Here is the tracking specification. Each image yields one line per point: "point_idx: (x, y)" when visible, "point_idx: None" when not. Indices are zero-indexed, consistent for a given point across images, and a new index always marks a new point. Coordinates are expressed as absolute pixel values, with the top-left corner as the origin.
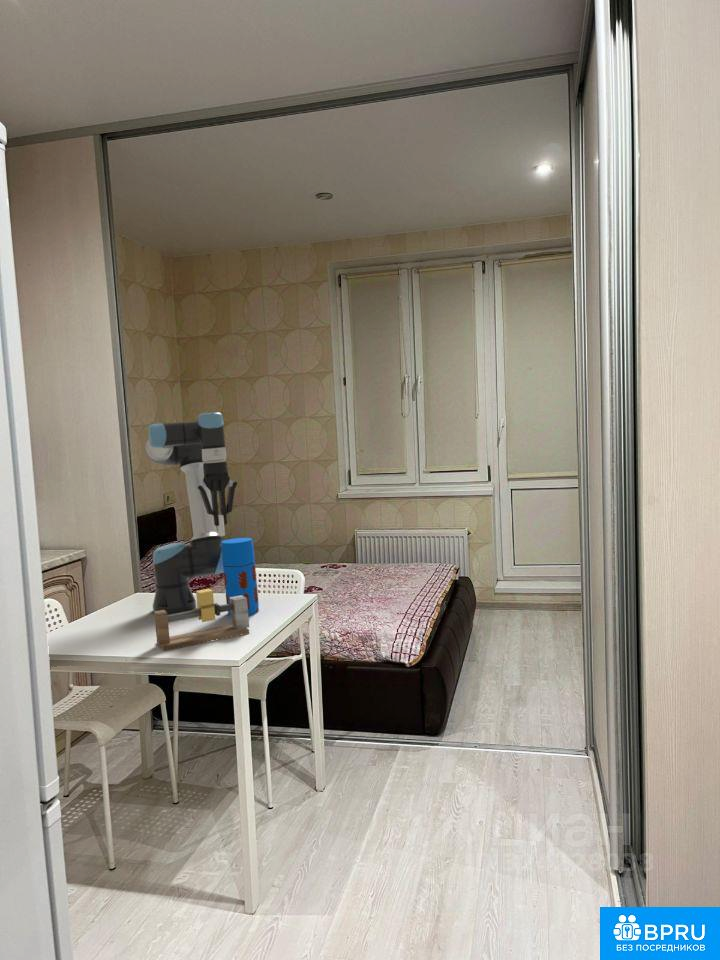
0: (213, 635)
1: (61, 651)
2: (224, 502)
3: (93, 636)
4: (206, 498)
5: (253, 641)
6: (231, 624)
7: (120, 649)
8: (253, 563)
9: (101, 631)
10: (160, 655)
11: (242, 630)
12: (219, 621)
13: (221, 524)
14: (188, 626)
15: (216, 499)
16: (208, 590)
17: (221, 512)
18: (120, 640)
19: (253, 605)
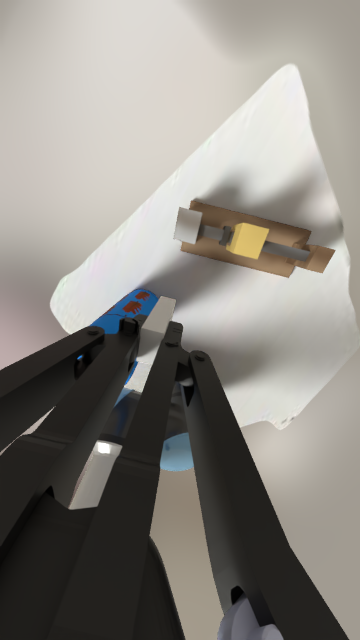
0: (238, 220)
1: (357, 344)
2: (95, 369)
3: (298, 366)
4: (229, 449)
5: (212, 147)
6: (190, 252)
7: (325, 292)
8: (99, 317)
9: (280, 375)
10: (327, 213)
11: (199, 204)
12: (182, 297)
13: (163, 313)
14: (217, 311)
15: (143, 408)
16: (244, 236)
17: (134, 356)
18: (297, 327)
19: (133, 292)
